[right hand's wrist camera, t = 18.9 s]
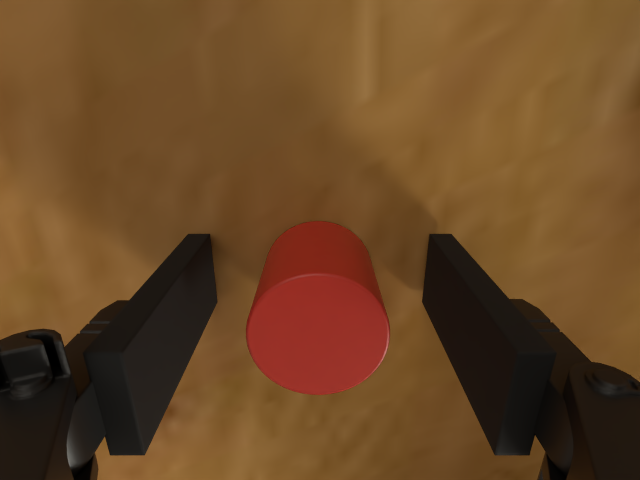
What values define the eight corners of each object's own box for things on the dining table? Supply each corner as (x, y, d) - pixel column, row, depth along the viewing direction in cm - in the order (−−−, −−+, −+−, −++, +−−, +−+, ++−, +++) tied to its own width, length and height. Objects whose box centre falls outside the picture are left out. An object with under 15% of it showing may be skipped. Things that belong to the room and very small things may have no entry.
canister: (247, 288, 15) (221, 361, 11) (296, 200, 13) (287, 247, 9) (337, 331, 15) (343, 414, 11) (391, 251, 14) (419, 314, 10)
